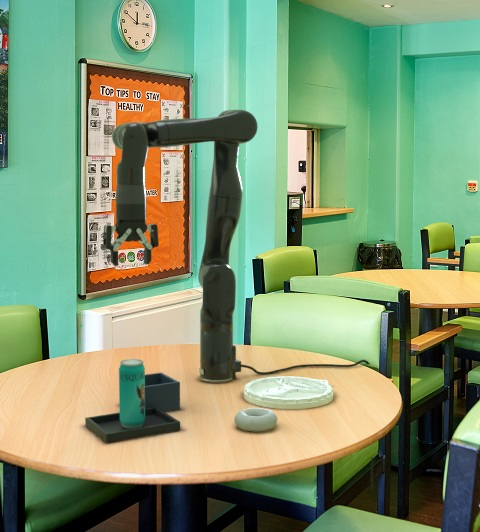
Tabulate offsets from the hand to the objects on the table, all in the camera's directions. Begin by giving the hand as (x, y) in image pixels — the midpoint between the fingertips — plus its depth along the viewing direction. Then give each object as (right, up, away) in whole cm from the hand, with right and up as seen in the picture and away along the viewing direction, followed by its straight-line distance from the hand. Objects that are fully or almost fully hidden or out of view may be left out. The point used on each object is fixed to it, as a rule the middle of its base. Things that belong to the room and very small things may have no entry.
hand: (131, 264), depth 210 cm
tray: (+5, -37, -24) cm, 45 cm away
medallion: (+42, -34, +4) cm, 54 cm away
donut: (+33, -38, -22) cm, 55 cm away
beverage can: (+4, -37, -24) cm, 45 cm away
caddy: (+6, -35, -8) cm, 37 cm away
